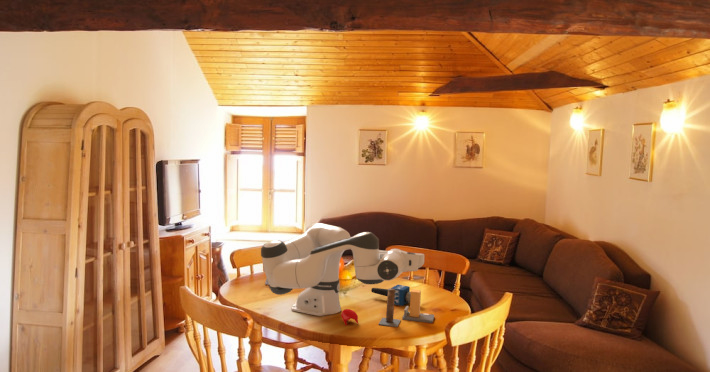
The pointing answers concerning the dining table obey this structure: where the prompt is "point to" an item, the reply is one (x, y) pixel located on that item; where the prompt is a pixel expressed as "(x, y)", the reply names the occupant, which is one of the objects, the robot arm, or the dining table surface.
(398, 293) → the microphone
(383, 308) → the dining table surface
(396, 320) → the coaster
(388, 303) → the brown wooden post
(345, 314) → the cap
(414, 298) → the tan wooden block
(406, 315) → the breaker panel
